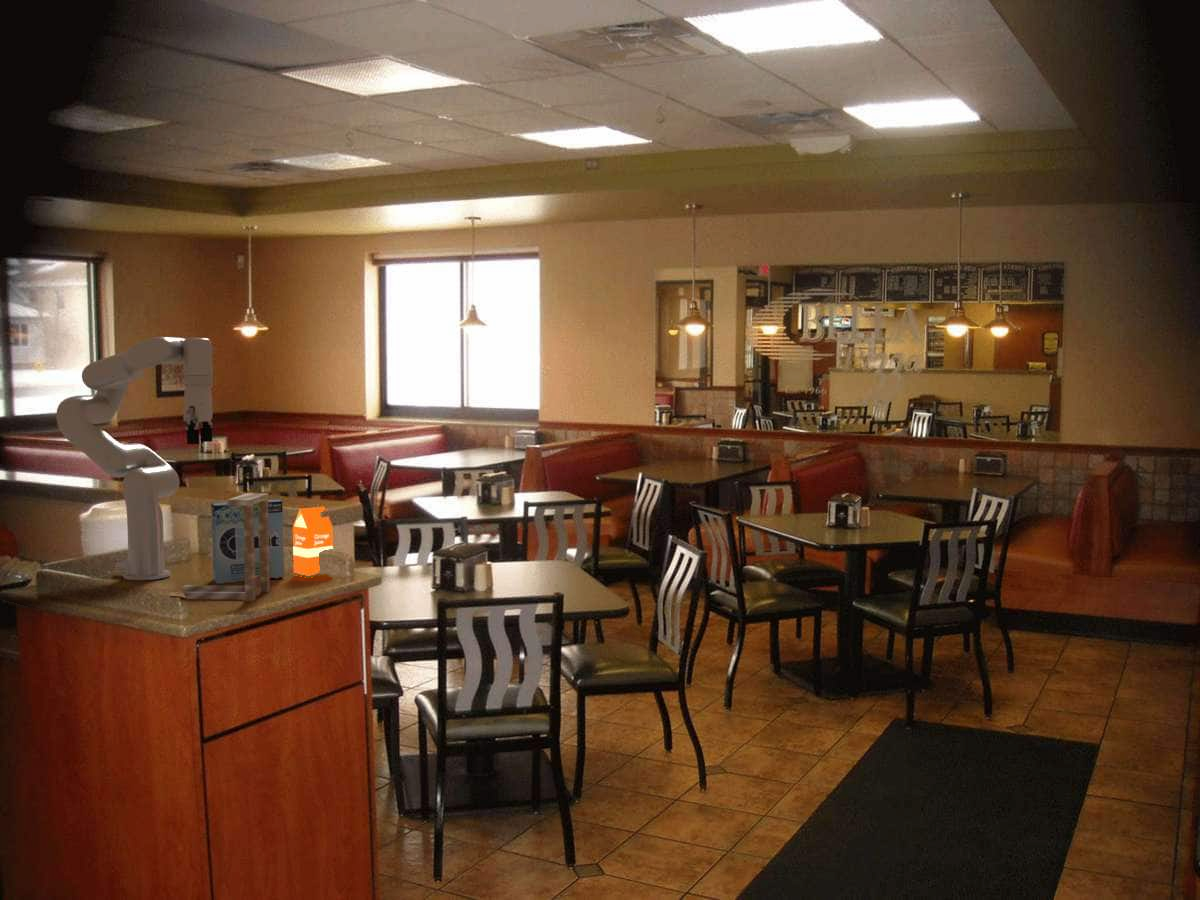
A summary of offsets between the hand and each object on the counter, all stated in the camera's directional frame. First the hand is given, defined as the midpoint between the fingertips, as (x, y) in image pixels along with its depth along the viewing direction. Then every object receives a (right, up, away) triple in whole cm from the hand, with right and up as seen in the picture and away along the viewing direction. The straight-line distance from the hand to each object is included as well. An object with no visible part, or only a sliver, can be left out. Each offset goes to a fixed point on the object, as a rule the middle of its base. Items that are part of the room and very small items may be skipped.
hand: (199, 442), depth 315 cm
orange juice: (+27, -39, +18) cm, 51 cm away
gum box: (+11, -40, +9) cm, 43 cm away
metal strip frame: (+10, -41, -13) cm, 45 cm away
